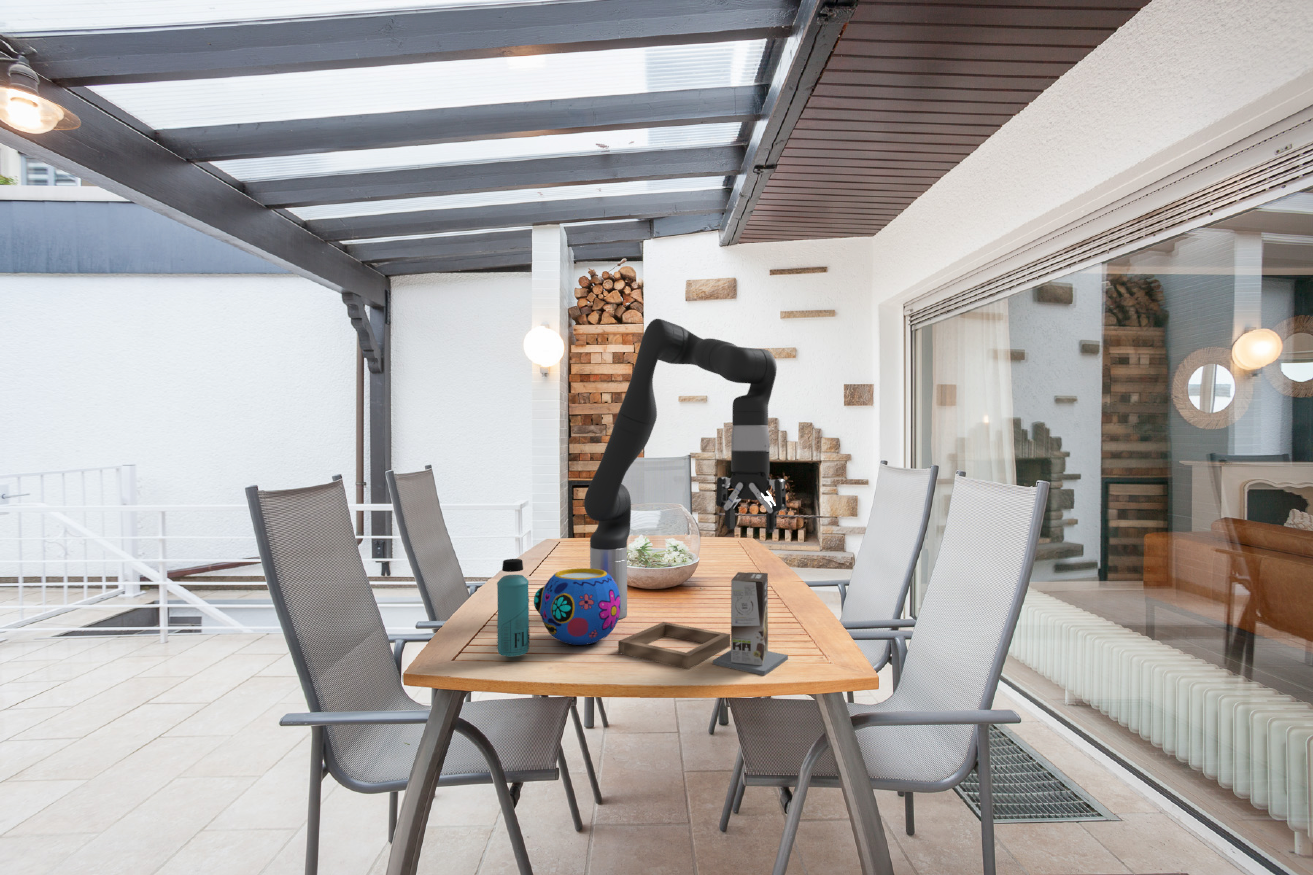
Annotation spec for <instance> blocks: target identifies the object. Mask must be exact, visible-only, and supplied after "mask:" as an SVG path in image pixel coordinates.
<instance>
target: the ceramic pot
mask: <svg viewBox="0 0 1313 875" xmlns="http://www.w3.org/2000/svg"><path fill="white" fill-rule="evenodd" d="M533 605H534V608H535V611H537V613H539V615H540V617H541V620H542V622H543V625H544V627H545V629H546V630H547V632H548V633H549V635H550V636H552V637H553V638H554V639H556V640H558V641H560V642H562V643H565V644H568V645H574V646H585V645H589V644H594V643H597V642H599V641H601V640H603V639H604V638H607V637H608V636H609V635H610V634H611V633H612V632H613V631H614V628H615V627H616V625H617V623H618V621H619V614H620V607H621V599H620V594H619V590H618V587H617V584H616V583H615V581H614V579H613V578H612V577H611V576H610V575H609V574H608V573H607V572H605V571H603V570H599V569H590V567H589V568H588V567H587V568H583V567H582V568H569V569H563V570H559V571H557V572H555V573H554V574H553V575H552V576H551V577H550V578H548V580H547V582H546V583H545V584H544V586H542V587H541V588H538V589H537V591H536V592H535V594H534V597H533Z"/></svg>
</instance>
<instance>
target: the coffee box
mask: <svg viewBox="0 0 1313 875" xmlns="http://www.w3.org/2000/svg"><path fill="white" fill-rule="evenodd" d="M768 574H769V573H768V572H741V571H738V572H737V573H736V574H735V575H734V576H733V577H732V579H731V582H730V584H731V586H730V587H731V590H730V591H731V592H730V593H731V594H730V599H731V600H730V601H731V602H730V609H731V612H730V624H731V625H730V628H731V629H730V650H731V662H732V663H741V664H751V665H759V666H761V665H763V663H764V660H765V658H766V655H767V653H768V651H769V618H768V617H769V601H768V600H769V591H768V590H769V583H768V582H769V581H768V579H769V578H768V577H769V576H768Z"/></svg>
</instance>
